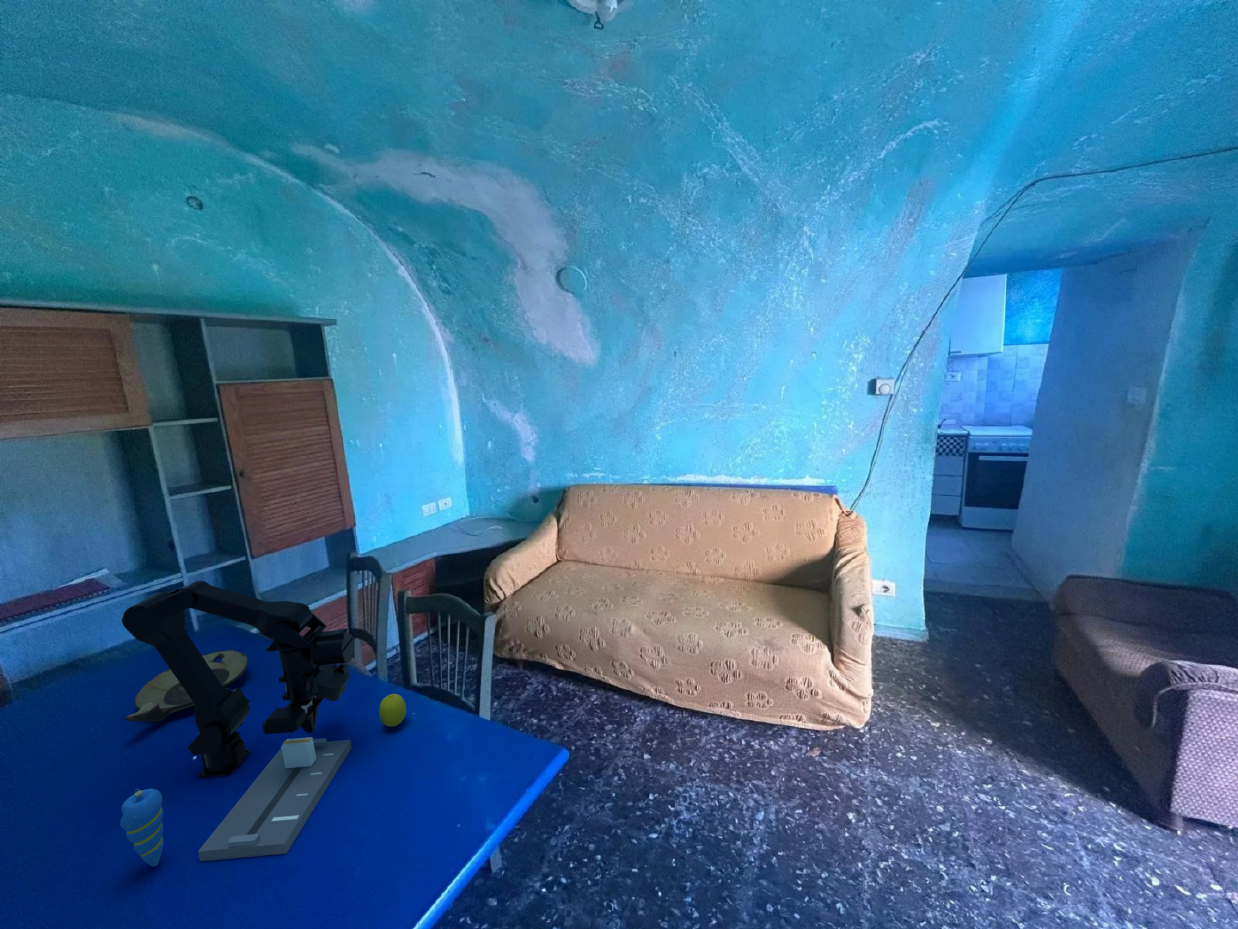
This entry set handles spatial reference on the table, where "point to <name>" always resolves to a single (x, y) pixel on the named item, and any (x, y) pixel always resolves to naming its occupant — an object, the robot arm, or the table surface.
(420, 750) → the table surface
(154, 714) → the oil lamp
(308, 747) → the fader tab
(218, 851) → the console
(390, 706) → the lemon
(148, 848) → the ornament
